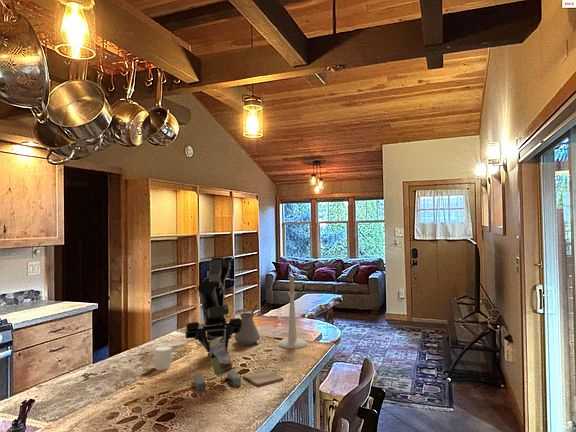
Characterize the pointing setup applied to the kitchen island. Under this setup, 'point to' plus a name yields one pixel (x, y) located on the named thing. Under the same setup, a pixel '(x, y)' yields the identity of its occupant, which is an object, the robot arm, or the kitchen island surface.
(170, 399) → the kitchen island surface
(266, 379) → the walnut board
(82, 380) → the kitchen island surface
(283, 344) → the candlestick
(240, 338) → the coffee pot
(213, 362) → the beverage can
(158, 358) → the shot glass
